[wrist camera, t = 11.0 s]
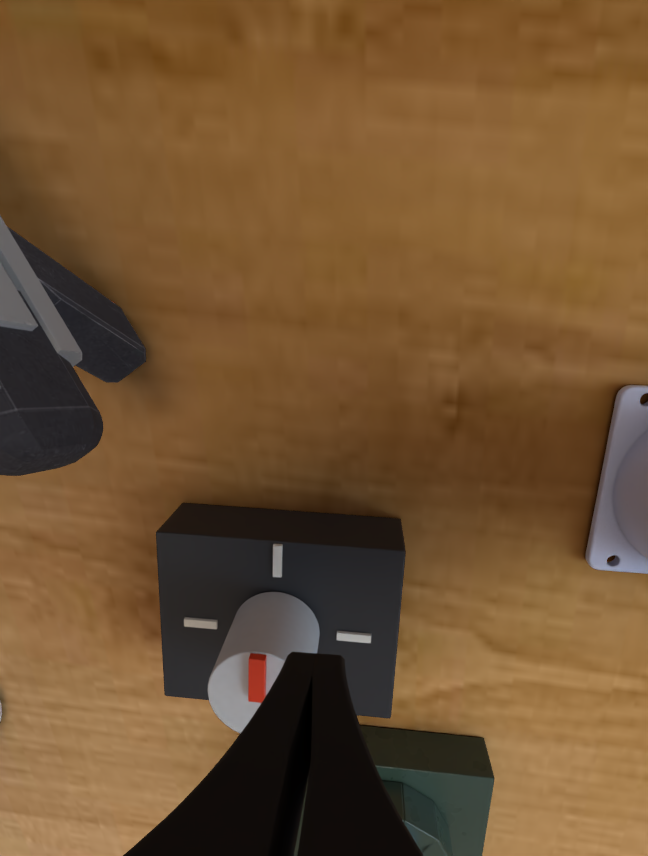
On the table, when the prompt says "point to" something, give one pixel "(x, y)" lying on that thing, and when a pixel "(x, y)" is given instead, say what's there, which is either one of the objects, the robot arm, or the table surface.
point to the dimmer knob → (258, 653)
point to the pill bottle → (0, 712)
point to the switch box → (434, 787)
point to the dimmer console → (281, 589)
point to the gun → (53, 358)
